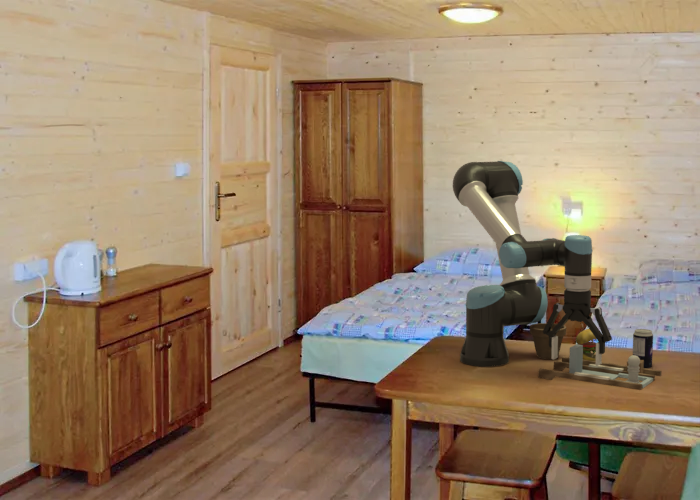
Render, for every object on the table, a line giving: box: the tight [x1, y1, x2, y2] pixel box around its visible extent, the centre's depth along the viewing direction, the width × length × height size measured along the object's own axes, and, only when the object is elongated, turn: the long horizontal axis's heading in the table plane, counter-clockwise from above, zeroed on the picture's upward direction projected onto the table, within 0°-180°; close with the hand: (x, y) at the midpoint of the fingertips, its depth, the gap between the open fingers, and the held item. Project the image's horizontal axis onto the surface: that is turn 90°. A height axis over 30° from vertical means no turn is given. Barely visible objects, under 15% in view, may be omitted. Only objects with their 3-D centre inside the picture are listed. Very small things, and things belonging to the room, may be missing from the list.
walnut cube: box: [626, 360, 644, 373], centre depth 262 cm, size 4×4×4 cm
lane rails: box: [537, 356, 662, 391], centre depth 263 cm, size 30×18×3 cm, turn 54°
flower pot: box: [529, 322, 567, 360], centre depth 288 cm, size 12×11×10 cm
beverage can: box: [632, 328, 654, 369], centre depth 271 cm, size 6×6×12 cm
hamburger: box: [575, 324, 598, 361], centre depth 281 cm, size 8×7×12 cm
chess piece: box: [625, 354, 642, 383], centre depth 254 cm, size 5×5×9 cm
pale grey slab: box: [568, 343, 654, 390], centre depth 258 cm, size 22×9×9 cm, turn 54°
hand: (576, 361), depth 263 cm, fingers open, 13 cm apart
